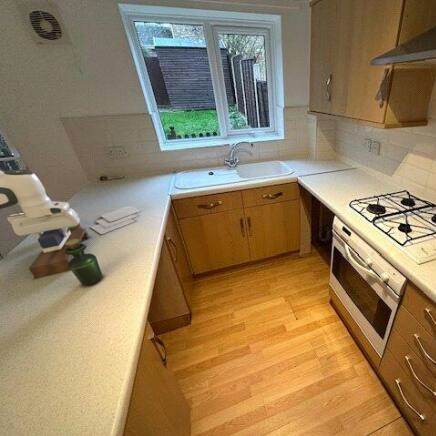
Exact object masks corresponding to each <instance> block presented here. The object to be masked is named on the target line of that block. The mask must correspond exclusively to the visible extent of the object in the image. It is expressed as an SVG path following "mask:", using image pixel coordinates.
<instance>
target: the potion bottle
mask: <svg viewBox="0 0 436 436" xmlns="http://www.w3.org/2000/svg"><path fill="white" fill-rule="evenodd" d="M65 245H66V246H67V247H68V248H67V249H66V250H65V251H66V254H67V255H72V257H73V258H71V259H70V261H69V265H68V267H69V268H70V269H71V270H70V271H71V272H72V274H73V275H74V276H75V277H76V279H77V280H78V281H79V283H80V284H81V285H82V286H83V287H91V286H95V285H97V284H98V283H100V282H102V279H103V278H104V277H103V276H104V275H103V273H102V270H101V267H100V264H99V261H98V258H97V256H96V255H95V254H93V253H85V250H86V249H87V245H85V244H84V243H82V242H80V243H79V240H78V239H73V240H70V241H68V242H66V243H65Z"/></svg>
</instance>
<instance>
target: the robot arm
mask: <svg viewBox="0 0 436 436" xmlns="http://www.w3.org/2000/svg"><path fill="white" fill-rule="evenodd" d="M16 205H18V206H19V207H20V209H21V210H22V211H21V212H17V213H10V214H9V215H7V221H8V223H9V224H11V227H12V229H13V231H14V233H15V235H16V236H19V237H22V236H27V235H28V236H29V235H32V234H34V236H35V237H37V238H39V237H40V236H41V235H42V234H43V232H45V231H50V230H55V229H62V230H64V232H62V234H61V235H62V237H67V236H68V234H67V228H68V227H72V226H77V225H78V224H79V222H81V219H80V217H79V214H78V215H77V214H76V212H77V211H76V210H74V209H73V208H71V207H70V203H69V202H68V201H55V200H52V199H51V198H50V197H49V196H48V195H47V193H46V189H45V187H44V185H43V183H42V182H41V180H40V179H39V177H38V176H37V175H36V174H35V172H32V171H31V170H28V169H11V170H4V169H3V168H0V210H2V209H5V208H6V209H7V208H9V207H13V206H16ZM75 211H76V212H75Z"/></svg>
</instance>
